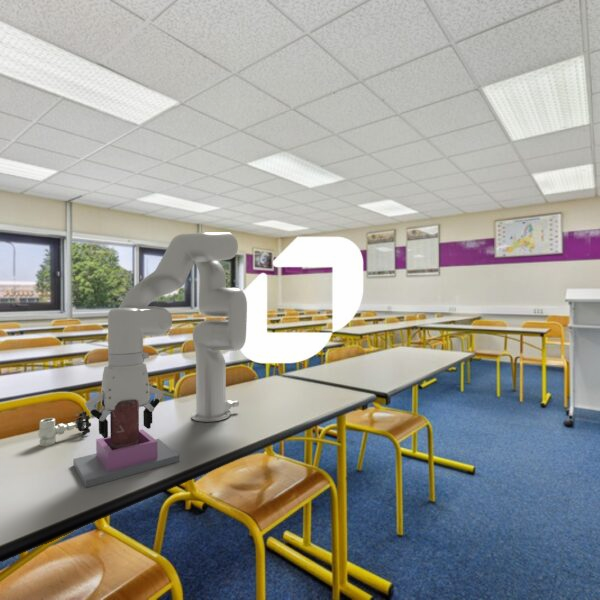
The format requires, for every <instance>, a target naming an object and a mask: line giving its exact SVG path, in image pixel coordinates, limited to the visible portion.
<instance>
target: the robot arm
mask: <svg viewBox="0 0 600 600" xmlns="http://www.w3.org/2000/svg"><path fill="white" fill-rule="evenodd" d="M238 250H239V244H238V241H237V238H236V236H235V235H234V234H232V233H231V232H225V231H224V232H190V233H180V234H177V235H176V236H174V237H173V238H172V239H171V241H170V243H169V244H168V246H167V248H166V250H165V252H164V253H163V255H162V257H161V260H160V261H159V262H158V265H157V267H156V268H155V270H154V271H153V272H151V273H150V274H148V275H146V277H144V278H143V279H142V280H140V281H139V282H138V283H137V284H135V285H134V286H132V287H131V288H130V290H128V292H127V293H126V294H125V296H124V298H123V299H122V301H121V303H120V305H119V307H118V308H117V307H116V308H112V309H110V310H109V312H108V313H107V341H108V343H107V345H108V346H107V348H108V349H107V351H108V353H107V354H108V355H107V357H108V358H107V359H108V360H107V361H108V363H107V366H104V367H103V373H102V380H101V392H100V393H98V394H97V395H95V396H94V397H92V398H91V399H89V400H87V401H85V403H84V406H85V407H86V409H87V410H88V411H89V413H90V414H91V415H92V416H93V417H94V418H96V419H97V420H98V433H99V435H101V436H102V438H107V437H109V422H108V420H107V418H108V416H110V412H111V411H114V410H115V406H116V405H117V404H118V403H124V402H131V401H134V400H135V399H136V400H138V402H139V407H142V406H143V407H144V410H143V413H142V414H143V417H142V418H143V427H145V428H146V429H151V424H153V412H154V411H155V408H156V407H157V406H158V405H159V404H160V401H161V398H162V397H163V395H164V391H163V390H160V389H158V388H155V387H153V386H150V381H149V374H148V373H149V372H148V369H147V368H148V367H147V364H146V363H145V362H144V361H145V360H146V359H149V358H150V353H148V352H145V351H143V350H144V340H143V339H144V337H145V336H149V337H157V336H162V335H165V334H166V333H167V332H169V330H170V329H171V327H172V323H173V317H172V314H171V312H170V311H169V310H168V309H166V308H164V307H162V306H154V305H153V306H152V305H151V306H149V305H150V304H151V303H152V302H154V301H155V300H157V299H159V298H161V297H163V296H166V295H168V294H169V295H170V293H173V292H175V291H178V290H179V289H181V288H182V287H183V286H184V285H185V283H186V281H187V279H188V277H189V275H190V272H191V271H192V268H193V267H194V265H195V266H196V268H197V271H198V273H199V274H198V275H199V293H198V309H199V312H200V313H201V315H203V316H205V317H210V318H211V317H212V318H213V317H214V318H216V317H217V318H227V320H226V321H225V320H224V321H223V320H203V321H201V322H199V323H197V324H196V325H195V326H194V328H193V330H192V342H193V346H194V351H195V391H196V395H195V396H196V398H195V399H196V400H195V401H196V403H195V405H196V407H195V408H196V410H195V411H193V412H192V413H191V419H192V420H193V421H195V422H199V423H200V422H202V423H211V422H218V421H223V420H226V419H228V418H229V417H230V416H231V410H230V409H231V408H236V407H239V404H240V401H239V400H234V401H232V400H227V398H226V397H227V392H226V391H227V389H226V386H227V384H226V381H227V380H226V375H227V374H226V371H227V369H226V367H227V365H226V360H225V357H224V355H223V353H222V352H221V351H226V352H227V351H228V352H229V351H230V352H231V351H232V352H233V351H234V352H235V351H239V350H242V349H243V347H244V346H245V343H246V339H247V322H248V321H247V318H248V316H247V315H248V301H247V297H246V295H245V292H244V291H243V290H242V289H240V288H236V287H227V285H226V284H227V283H226V282H227V278H226V277H227V276H226V274H227V273H226V271H225V268H224V267H223V266H222V264H221V261H227V260H232V259H233V258H234V257H235V256H236V255H237V254H238ZM150 394H153V395H154V398H153V399H152V400H150V399H151V395H150ZM99 402H100V404H101V407H102V408H101V409H100V410H98V409H96V408H95V405H97V404H98V403H99Z"/></svg>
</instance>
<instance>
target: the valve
mask: <svg viewBox="0 0 600 600" xmlns="http://www.w3.org/2000/svg"><path fill="white" fill-rule="evenodd" d="M87 414H88V413H87V411H82V412H80V413H78V418H77V419H76V421H75V423H74V422H69V423H67V424H64V423H63V422H61V423H57V424H56V418H54V417H48V418H44V419H43V418H42V419H41V420H40V421H39V429H38V433H37V434H38V437H39V446H40V447H49V446H52V445H55V444H56V439H57V437H56V435H58V436H61V435H64V433H65V432H66V431H72V430H73V429H74V428H76V429H77V430H78V431H79V432H81V434H82V435H87V434H89V433H90V432H91V429H90V427H91V426H92V423H91V422H90V421H89V420H90V419H91V417H90V415H87Z"/></svg>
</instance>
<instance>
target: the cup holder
mask: <svg viewBox="0 0 600 600" xmlns="http://www.w3.org/2000/svg"><path fill="white" fill-rule="evenodd" d="M95 441H96V442H95V444H96V447H95V448H96V452H95V453H92V454H88V455H85V456H80V457H76V458H73V459H72V460H73V461H72V463H73V465H72V466H73V468H74V469H75V471H76V473H77V474H78V476H79V478H80V479H81V482H82V483H83V485H84V487H85V489H86V488H90V487H94V486H97V485H102V484H104V483H107V482H111V481H115V480H118V479H122V478H126V477H128V476H132V475H136V474H139V473H142V472H143V473H144V472H147V471H150V470H154V469H157V468H159V467H160V468H161V467H163V466H167V465H172V464H176V463H178V462H180V454H178V453H177V452H176V451H174V450H173V449H172V448H171V447H169V446H168V445H167V444H166V443H164V442H163V441H162V440H160V438H154V437H153V436H151V435H150V434H149V433H148V432H146V431H145V430H144V429H142V428H141V429H139V444H136V445H132V446H128V447H124V448H119V449H115V450H112V449H111V435H110V436H109V435H108V437H107V438H104V437H102V438H96V439H95Z"/></svg>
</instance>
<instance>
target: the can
mask: <svg viewBox="0 0 600 600" xmlns="http://www.w3.org/2000/svg"><path fill="white" fill-rule="evenodd" d="M139 409H140V406H139V402H138V400H136V399H135V400H134V401H131V402H124V403H118V404H117V405H116V406H115V410H114V411H111V412H110V413H109V417H110V419H109V420H110V425H109V426H110V436H111V449H112V450H115V449H119V448H124V447H128V446H132V445H136V444H139V430H140V418H139V417H140V415H139V413H140V410H139Z"/></svg>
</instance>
